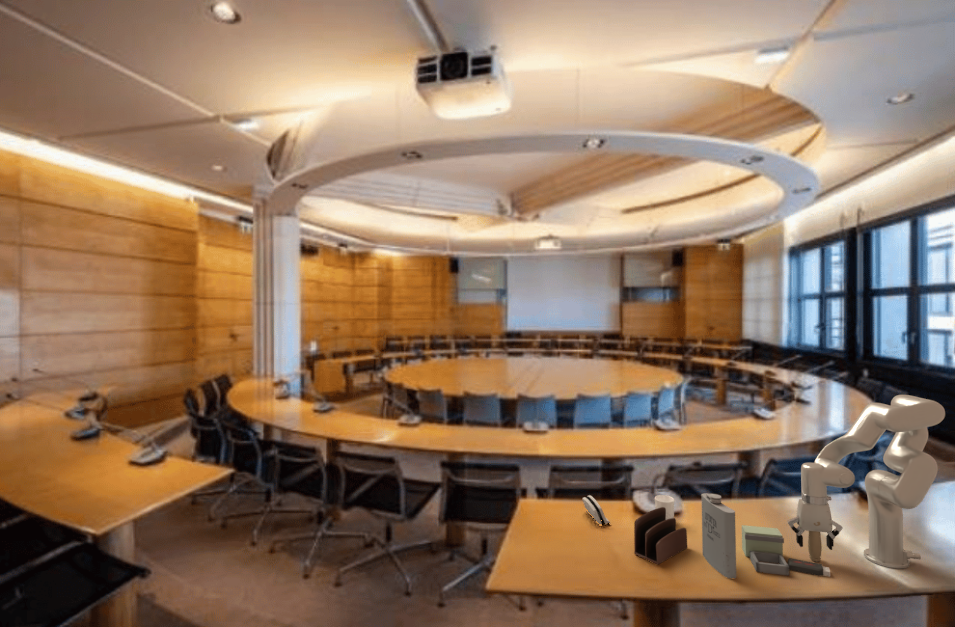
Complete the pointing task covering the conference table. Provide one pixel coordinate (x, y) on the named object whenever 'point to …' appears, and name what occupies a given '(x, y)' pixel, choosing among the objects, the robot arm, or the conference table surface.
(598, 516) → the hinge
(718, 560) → the flask
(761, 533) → the green box on stand
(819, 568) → the usb drive
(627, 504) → the conference table surface
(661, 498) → the white cup
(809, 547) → the handle
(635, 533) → the letter holder
